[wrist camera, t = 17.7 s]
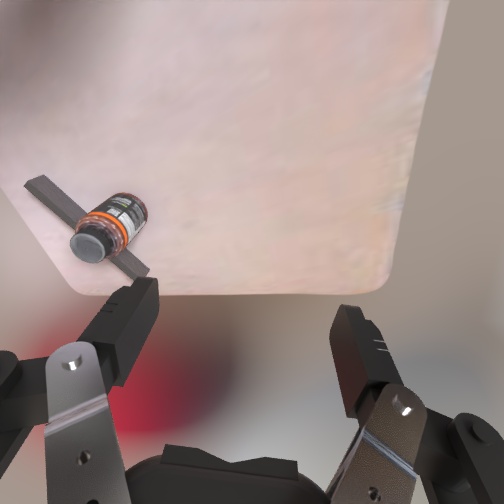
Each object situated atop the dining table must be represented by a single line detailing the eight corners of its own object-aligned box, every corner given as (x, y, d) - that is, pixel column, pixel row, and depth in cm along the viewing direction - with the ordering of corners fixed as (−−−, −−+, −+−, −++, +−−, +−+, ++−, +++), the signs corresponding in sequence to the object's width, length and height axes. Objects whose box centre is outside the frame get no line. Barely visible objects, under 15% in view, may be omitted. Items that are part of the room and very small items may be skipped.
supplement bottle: (115, 228, 43) (69, 269, 33) (104, 190, 40) (50, 225, 30) (152, 229, 42) (118, 271, 33) (145, 191, 39) (104, 226, 30)
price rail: (38, 180, 40) (22, 187, 37) (43, 174, 39) (27, 180, 36) (144, 273, 47) (136, 284, 44) (149, 269, 47) (142, 280, 44)
